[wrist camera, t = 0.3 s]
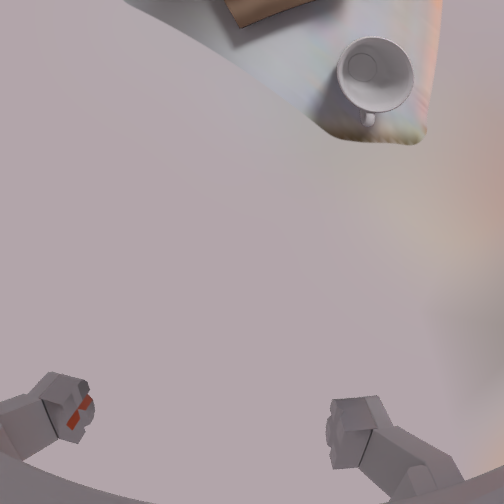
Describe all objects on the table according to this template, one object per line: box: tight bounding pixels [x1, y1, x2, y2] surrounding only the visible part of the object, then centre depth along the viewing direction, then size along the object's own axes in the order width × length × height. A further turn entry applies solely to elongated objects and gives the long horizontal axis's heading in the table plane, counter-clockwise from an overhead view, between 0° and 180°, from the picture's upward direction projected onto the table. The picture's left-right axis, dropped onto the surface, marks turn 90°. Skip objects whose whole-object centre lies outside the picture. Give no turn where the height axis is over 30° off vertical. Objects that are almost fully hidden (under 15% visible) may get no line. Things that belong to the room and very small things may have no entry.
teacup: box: [337, 36, 414, 127], centre depth 43 cm, size 12×15×10 cm
